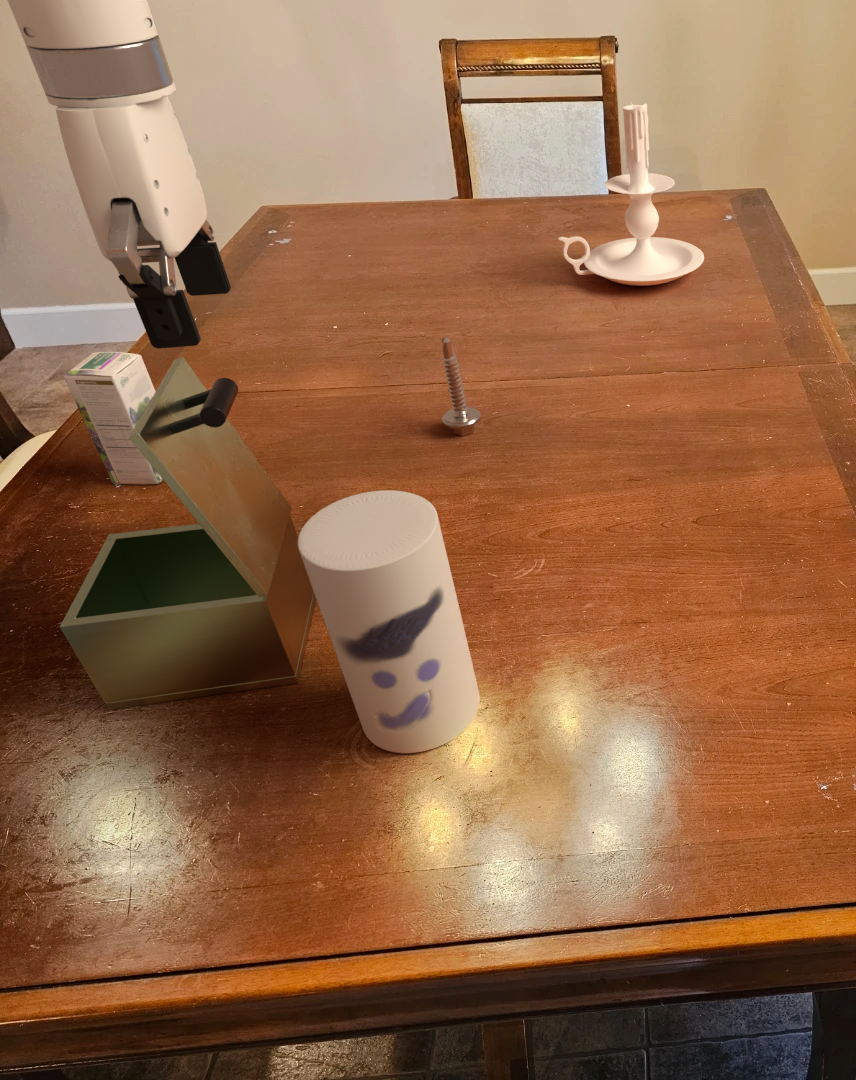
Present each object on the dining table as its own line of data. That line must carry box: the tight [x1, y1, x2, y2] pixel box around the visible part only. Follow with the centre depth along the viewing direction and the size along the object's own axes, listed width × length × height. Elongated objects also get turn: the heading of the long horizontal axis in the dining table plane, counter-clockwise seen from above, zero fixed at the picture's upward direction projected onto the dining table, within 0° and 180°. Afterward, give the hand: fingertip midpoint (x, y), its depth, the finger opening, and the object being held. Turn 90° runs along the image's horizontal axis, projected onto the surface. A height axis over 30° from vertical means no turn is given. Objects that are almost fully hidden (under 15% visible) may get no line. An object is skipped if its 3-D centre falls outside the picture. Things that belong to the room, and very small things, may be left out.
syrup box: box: [63, 351, 164, 485], centre depth 107 cm, size 6×6×14 cm
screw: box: [441, 336, 482, 437], centre depth 115 cm, size 13×5×5 cm
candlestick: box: [557, 100, 705, 287], centre depth 151 cm, size 21×25×28 cm
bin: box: [59, 515, 317, 711], centre depth 84 cm, size 16×13×10 cm
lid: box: [129, 356, 293, 597], centre depth 77 cm, size 17×13×5 cm
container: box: [297, 489, 481, 754], centre depth 75 cm, size 10×10×20 cm
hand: (194, 317), depth 71 cm, fingers open, 9 cm apart
